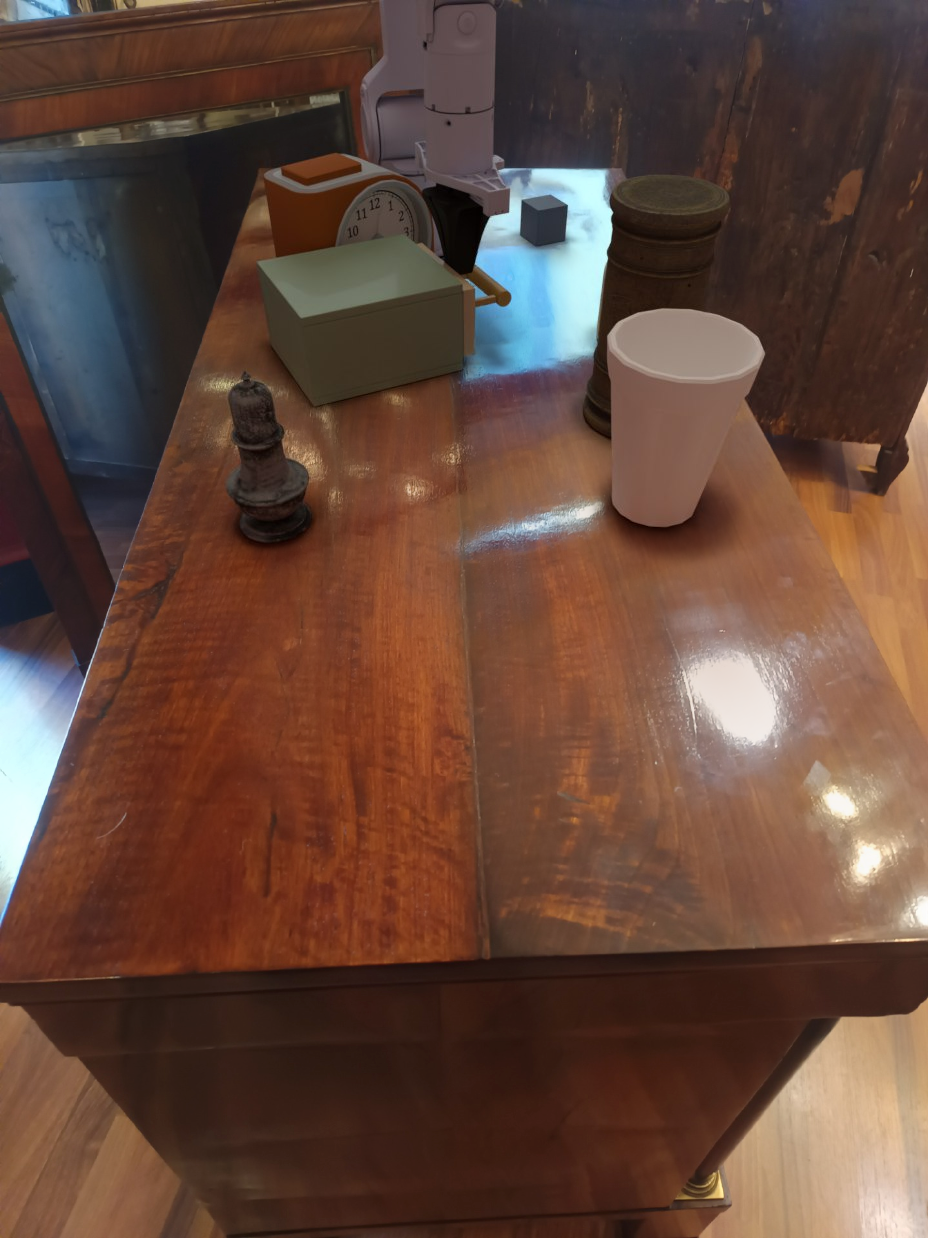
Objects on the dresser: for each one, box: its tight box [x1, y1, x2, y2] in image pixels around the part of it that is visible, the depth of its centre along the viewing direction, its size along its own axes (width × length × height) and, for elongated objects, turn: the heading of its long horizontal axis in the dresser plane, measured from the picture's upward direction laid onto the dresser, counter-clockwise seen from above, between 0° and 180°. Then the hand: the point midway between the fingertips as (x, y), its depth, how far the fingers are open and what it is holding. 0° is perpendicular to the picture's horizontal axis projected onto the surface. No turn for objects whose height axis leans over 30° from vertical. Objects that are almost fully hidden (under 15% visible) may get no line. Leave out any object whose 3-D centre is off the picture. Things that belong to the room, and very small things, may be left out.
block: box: [519, 194, 569, 247], centre depth 97 cm, size 4×4×4 cm
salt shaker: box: [225, 370, 313, 544], centre depth 56 cm, size 6×6×12 cm
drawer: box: [417, 243, 512, 358], centre depth 77 cm, size 18×11×6 cm, turn 116°
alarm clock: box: [262, 152, 434, 258], centre depth 82 cm, size 15×8×14 cm, turn 132°
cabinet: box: [255, 234, 464, 408], centre depth 75 cm, size 15×13×8 cm
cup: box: [607, 309, 766, 528], centre depth 57 cm, size 10×10×13 cm
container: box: [582, 174, 731, 439], centre depth 64 cm, size 9×9×18 cm
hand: (460, 271), depth 77 cm, fingers closed
